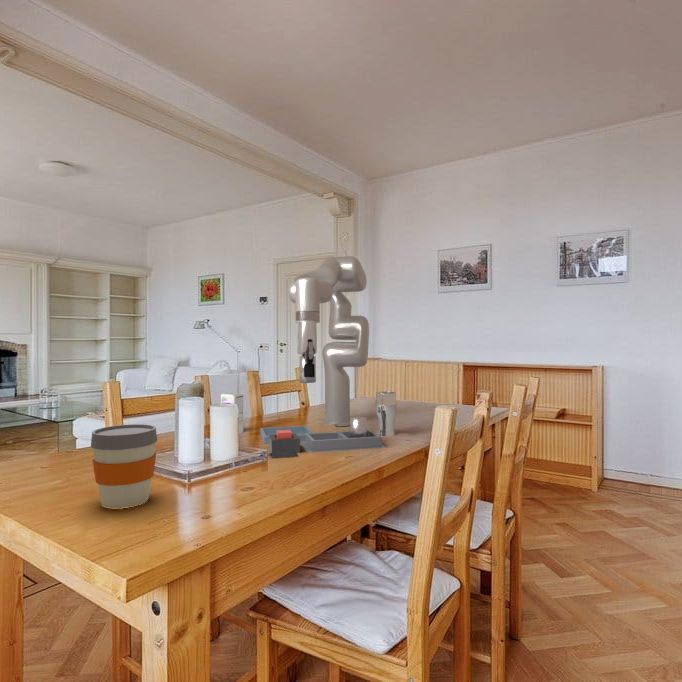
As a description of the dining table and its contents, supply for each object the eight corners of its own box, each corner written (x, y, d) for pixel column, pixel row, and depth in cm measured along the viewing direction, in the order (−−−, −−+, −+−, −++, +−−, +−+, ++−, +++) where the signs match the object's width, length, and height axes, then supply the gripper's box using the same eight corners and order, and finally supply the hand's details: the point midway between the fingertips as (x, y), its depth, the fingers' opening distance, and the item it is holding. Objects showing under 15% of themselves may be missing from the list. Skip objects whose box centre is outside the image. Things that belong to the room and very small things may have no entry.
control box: (269, 451, 143) (268, 434, 143) (295, 449, 145) (295, 433, 145) (271, 458, 136) (271, 440, 136) (300, 456, 138) (300, 438, 137)
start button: (276, 440, 142) (276, 430, 142) (290, 439, 143) (290, 429, 143) (278, 443, 138) (277, 433, 138) (292, 442, 139) (291, 432, 139)
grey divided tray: (300, 446, 150) (300, 433, 150) (374, 441, 156) (374, 429, 156) (307, 456, 138) (307, 442, 137) (387, 450, 143) (387, 437, 143)
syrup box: (220, 437, 165) (219, 394, 164) (230, 433, 170) (229, 392, 170) (234, 438, 162) (233, 395, 162) (244, 434, 168) (243, 393, 168)
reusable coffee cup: (89, 516, 92) (88, 438, 92) (93, 496, 104) (92, 426, 104) (159, 507, 97) (158, 432, 97) (156, 489, 109) (155, 422, 109)
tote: (260, 436, 164) (260, 428, 164) (305, 434, 168) (305, 425, 168) (264, 447, 149) (264, 437, 149) (314, 444, 153) (314, 434, 153)
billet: (298, 381, 153) (298, 356, 153) (314, 381, 154) (314, 356, 154) (300, 383, 148) (300, 356, 148) (316, 382, 149) (316, 356, 149)
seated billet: (348, 442, 150) (348, 417, 150) (364, 441, 151) (364, 416, 151) (353, 446, 145) (352, 419, 145) (369, 445, 146) (368, 418, 146)
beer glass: (396, 435, 166) (396, 391, 166) (396, 439, 159) (396, 393, 159) (375, 434, 166) (375, 391, 166) (375, 439, 160) (375, 393, 159)
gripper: (292, 319, 158) (292, 374, 158) (299, 316, 141) (299, 379, 142) (315, 319, 160) (315, 374, 160) (324, 316, 143) (324, 378, 143)
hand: (307, 375), depth 151 cm, fingers closed on billet, 5 cm apart
